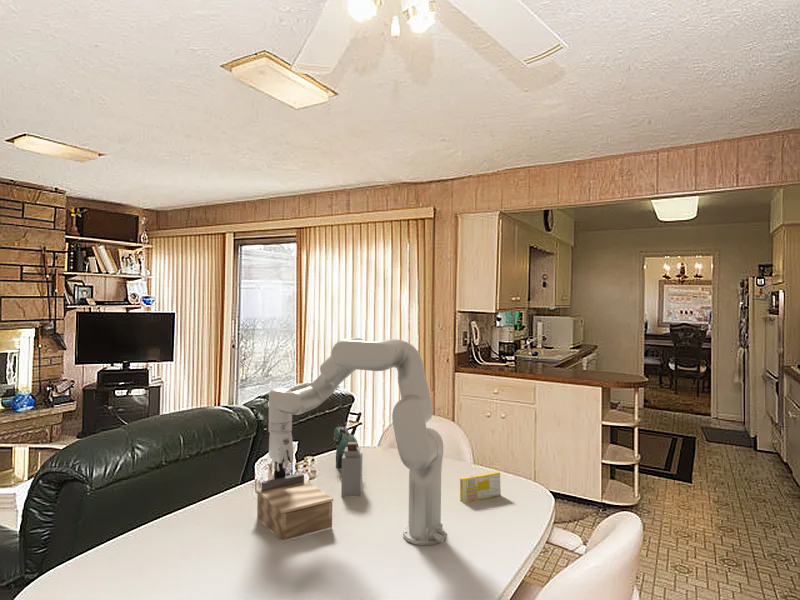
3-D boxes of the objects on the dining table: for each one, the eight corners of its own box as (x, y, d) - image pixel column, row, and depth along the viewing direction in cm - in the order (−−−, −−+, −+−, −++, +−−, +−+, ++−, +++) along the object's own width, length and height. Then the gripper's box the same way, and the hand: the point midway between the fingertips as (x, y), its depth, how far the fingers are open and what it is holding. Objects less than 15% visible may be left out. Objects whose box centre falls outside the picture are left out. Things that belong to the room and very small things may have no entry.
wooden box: (332, 528, 158) (332, 502, 158) (282, 542, 149) (282, 514, 149) (303, 506, 174) (303, 483, 174) (257, 518, 165) (257, 493, 165)
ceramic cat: (331, 466, 217) (332, 418, 217) (346, 464, 220) (346, 417, 220) (349, 481, 199) (350, 429, 200) (365, 479, 202) (365, 427, 202)
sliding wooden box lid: (333, 501, 158) (333, 490, 158) (281, 513, 149) (282, 502, 149) (304, 482, 175) (304, 472, 175) (256, 492, 165) (256, 481, 165)
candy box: (497, 494, 188) (497, 471, 188) (500, 496, 187) (501, 472, 187) (459, 501, 181) (459, 477, 181) (462, 503, 179) (463, 479, 179)
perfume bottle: (360, 496, 184) (360, 445, 184) (341, 496, 184) (341, 445, 184) (362, 489, 191) (362, 440, 191) (343, 489, 191) (344, 440, 191)
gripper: (300, 429, 167) (300, 486, 167) (282, 420, 179) (281, 473, 179) (278, 432, 163) (277, 491, 163) (260, 423, 175) (260, 478, 175)
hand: (279, 482), depth 171 cm, fingers closed
